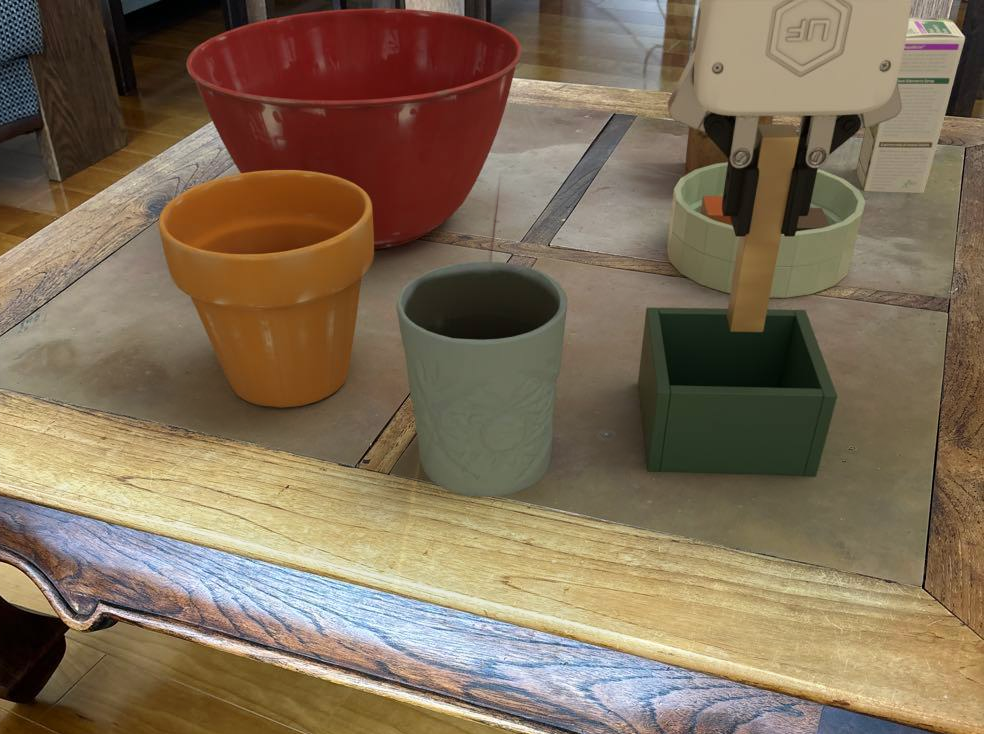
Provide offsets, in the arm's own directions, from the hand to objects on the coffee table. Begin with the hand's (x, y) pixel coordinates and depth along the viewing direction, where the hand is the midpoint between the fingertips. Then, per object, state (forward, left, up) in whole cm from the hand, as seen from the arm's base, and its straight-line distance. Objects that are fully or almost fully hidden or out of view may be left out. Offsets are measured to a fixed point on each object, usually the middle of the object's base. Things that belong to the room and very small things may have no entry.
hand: (761, 224), depth 60 cm
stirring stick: (0, 0, -7) cm, 7 cm away
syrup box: (-21, -43, -15) cm, 50 cm away
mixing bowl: (+29, -34, -15) cm, 47 cm away
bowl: (-6, -26, -15) cm, 30 cm away
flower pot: (+31, -6, -15) cm, 35 cm away
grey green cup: (+16, +4, -15) cm, 23 cm away
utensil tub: (0, 0, -15) cm, 15 cm away
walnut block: (-9, -25, -14) cm, 30 cm away
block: (-5, -43, -15) cm, 46 cm away
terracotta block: (-3, -27, -14) cm, 31 cm away
